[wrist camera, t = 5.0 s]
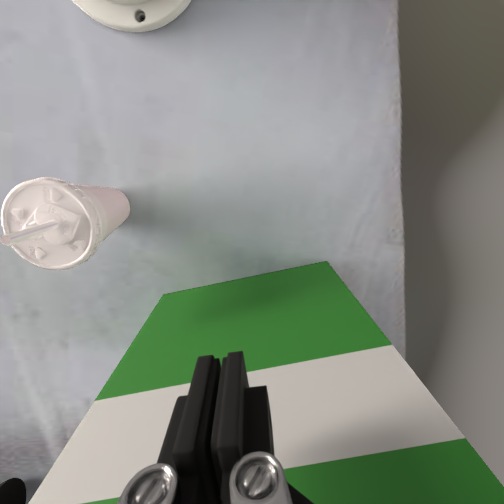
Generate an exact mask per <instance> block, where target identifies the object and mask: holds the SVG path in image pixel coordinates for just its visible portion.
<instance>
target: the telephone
mask: <svg viewBox="0 0 504 504" xmlns="http://www.w3.org/2000/svg"><path fill="white" fill-rule="evenodd" d="M25 502H26V487H25V484H24V482H23V481H22V480H21V479H19V478H12V479H9V480H7V481H5V482H3V483H1V484H0V504H25Z"/></svg>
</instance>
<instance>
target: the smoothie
mask: <svg viewBox="0 0 504 504" xmlns="http://www.w3.org/2000/svg"><path fill="white" fill-rule="evenodd" d="M129 213H130V204H129V201H128V199H127V197H126V196H125V195H124V194H123V193H122V192H121V191H119V190H117V189H115V188H111V187H100V186H89V185H78V184H72V183H70V182H67V181H64V180H61V179H58V178H47V177H43V178H39V179H33V180H28V181H25V182H22V183H20V184H19V185H17V186H16V187H14V188H13V189H12V190H11V191H10V192H9V193H8V195H7V196H6V198H5V200H4V202H3V205H2V210H1V223H2V228H3V231H4V234H5V235H3V236H2V237H1V239H0V240H1V242H2V243H3V244H4V245H11V246H12V247H13V249H14V250H15V251H16V252H17V253H18V254H19V255H20V256H21V257H23V258H24V259H25V260H27V261H28V262H30V263H32V264H34V265H36V266H38V267H41V268H44V269H49V270H66V269H70V268H73V267H75V266H77V265H79V264H81V263H83V262H85V261H87V260H89V259H90V258H91V257H92V256H93V255H94V254H95V253H96V251H97V249H98V247H99V245H100V243H101V242H102V241H103V240H104V239H105V238H106V237H108V236H109V235H110V234H111V233H112V232H113V231H114V230H115V229H116V228H117V227H119V226H120V225H121V224H122V223H123V222H124V221H125V220H126V219H127V218H128V216H129Z"/></svg>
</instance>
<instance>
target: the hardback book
mask: <svg viewBox="0 0 504 504" xmlns="http://www.w3.org/2000/svg"><path fill="white" fill-rule="evenodd" d="M237 351H243V355H244V360H245V366H246V372H247V377H248V383H249V387H256V386H264V385H266V386H267V391H268V398H269V404H270V411H271V420H272V430H273V442H274V454H275V457H276V458H277V459H278V460H279V461H280V463H281V465H282V467H283V470H284V473H285V477H286V481H287V482H288V483H289V484H290V485H292V486H293V487H294V488H295V489H297V490H298V491H299V492H300V493H301V494H303V495H304V496H305V497H306V498H308V499H309V500H310V501H311V502H313V503H314V504H504V487H503V485H502V484H501V483H500V482H499V480H498V479H497V478H496V477H495V475H494V474H493V473H492V471H491V470H490V469H489V468H488V466H487V465H486V464H485V462H484V461H483V460H482V459H481V457H480V456H479V455H478V453H477V452H476V451H475V450H474V448H473V447H472V446H471V445H470V443H469V442H468V441H467V440H466V438H465V437H464V436H463V434H462V433H461V432H460V431H459V429H458V428H457V427H456V425H455V424H454V423H453V422H452V420H451V419H450V418H449V416H448V415H447V414H446V413H445V411H444V410H443V409H442V408H441V406H440V405H439V404H438V402H437V401H436V400H435V399H434V397H433V396H432V395H431V394H430V392H429V391H428V390H427V389H426V387H425V386H424V384H423V383H422V382H421V381H420V380H419V378H418V377H417V376H416V374H415V373H414V372H413V370H412V369H411V368H410V367H409V365H408V364H407V363H406V361H405V360H404V359H403V358H402V356H401V355H400V354H399V353H398V351H397V350H396V349H395V347H394V346H393V345H392V344H391V342H390V341H389V340H388V338H387V337H386V336H385V335H384V333H383V332H382V331H381V330H380V328H379V327H378V326H377V324H376V323H375V322H374V321H373V319H372V318H371V317H370V315H369V314H368V313H367V312H366V310H365V309H364V308H363V307H362V305H361V304H360V303H359V301H358V300H357V299H356V298H355V296H354V295H353V294H352V292H351V291H350V290H349V289H348V287H347V286H346V285H345V284H344V282H343V281H342V280H341V278H340V277H339V276H338V275H337V273H336V272H335V271H334V269H333V268H332V267H331V266H330V264H329V263H328V262H327V261H324V262H320V263H315V264H310V265H305V266H300V267H295V268H290V269H285V270H281V271H276V272H271V273H266V274H261V275H256V276H251V277H247V278H242V279H237V280H232V281H227V282H222V283H217V284H212V285H208V286H203V287H198V288H193V289H188V290H183V291H178V292H174V293H169V294H164V295H163V296H162V297H161V299H160V300H159V302H158V304H157V305H156V307H155V308H154V310H153V311H152V313H151V314H150V316H149V318H148V319H147V321H146V322H145V324H144V325H143V327H142V328H141V330H140V331H139V333H138V335H137V336H136V338H135V339H134V341H133V342H132V344H131V345H130V347H129V348H128V350H127V352H126V353H125V355H124V356H123V358H122V359H121V361H120V362H119V364H118V366H117V367H116V369H115V370H114V372H113V373H112V375H111V376H110V378H109V379H108V381H107V383H106V384H105V386H104V387H103V389H102V390H101V392H100V393H99V395H98V396H97V398H96V400H95V401H94V403H93V404H92V406H91V407H90V409H89V410H88V412H87V414H86V415H85V417H84V418H83V420H82V421H81V423H80V424H79V426H78V427H77V429H76V431H75V432H74V434H73V435H72V437H71V438H70V440H69V441H68V443H67V444H66V446H65V448H64V449H63V451H62V452H61V454H60V455H59V457H58V458H57V460H56V462H55V463H54V465H53V466H52V468H51V469H50V471H49V472H48V474H47V475H46V477H45V479H44V480H43V482H42V483H41V485H40V486H39V488H38V489H37V491H36V492H35V494H34V496H33V497H32V499H31V500H30V502H29V503H28V504H117V502H118V500H119V498H120V496H121V494H122V492H123V490H124V489H125V487H126V485H127V484H128V482H129V481H130V480H131V479H132V478H133V476H134V475H135V474H136V473H138V472H139V471H141V470H142V469H143V468H145V467H147V466H150V465H152V464H156V463H157V460H158V457H159V454H160V451H161V447H162V444H163V441H164V438H165V435H166V431H167V428H168V425H169V422H170V419H171V415H172V412H173V409H174V406H175V403H176V400H177V398H178V397H179V396H185V395H188V392H189V388H190V384H191V381H192V377H193V373H194V369H195V366H196V362H197V359H198V357H199V356H206V355H214V358H219V359H220V364H221V365H222V359H223V357H227V355H228V353H229V352H237Z"/></svg>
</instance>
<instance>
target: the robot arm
mask: <svg viewBox="0 0 504 504" xmlns="http://www.w3.org/2000/svg"><path fill="white" fill-rule="evenodd" d="M72 1H73V2H74V3H75V4H76V5H77V6H78V7H79V8H80V9H81V10H83V11H84V12H85V13H86V14H87V15H89V16H90V17H91V18H92V19H94V20H96V21H98V22H99V23H101V24H103V25H105V26H107V27H110V28H113V29H116V30H119V31H123V32H132V33H138V32H148V31H152V30H155V29H157V28H160V27H163V26H165V25H166V24H168V23H170V22H171V21H173V20H174V19H176V18H177V17H178V16H179V15H180V14H181V13H182V12H183V11H184V10H185V9H186V8H187V6H188V5H189V3H190V2H191V0H72ZM143 17H144V18H145V20H144V21H143V22H141V19H142V18H143ZM117 504H314V503H313V502H311V501H310V500H309V499H308V498H306V497H305V496H304V495H303V494H301V493H300V492H299V491H298V490H297V489H295V488H294V487H293V486H292V485H290V484H289V483H288V482H287V481H286V477H285V473H284V470H283V467H282V465H281V463H280V461H279V460H278V459H277V458H276V457H275V454H274V442H273V430H272V420H271V411H270V404H269V398H268V391H267V386H266V385H264V386H256V387H249V383H248V377H247V372H246V366H245V360H244V355H243V351H237V352H229V353H228V355H227V357H223V359H222V365H221V364H220V359H219V358H214V355H206V356H199V357H198V359H197V362H196V366H195V369H194V373H193V377H192V381H191V384H190V388H189V392H188V395H185V396H179V397H178V398H177V400H176V403H175V406H174V409H173V412H172V415H171V419H170V422H169V425H168V428H167V431H166V435H165V438H164V441H163V444H162V447H161V451H160V454H159V457H158V460H157V463H156V464H152V465H150V466H147V467H145V468H143V469H142V470H141V471H139V472H138V473H136V474H135V475H134V476H133V478H132V479H131V480H130V481H129V482H128V484H127V485H126V487H125V489H124V490H123V492H122V494H121V496H120V498H119V500H118V502H117Z"/></svg>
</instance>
